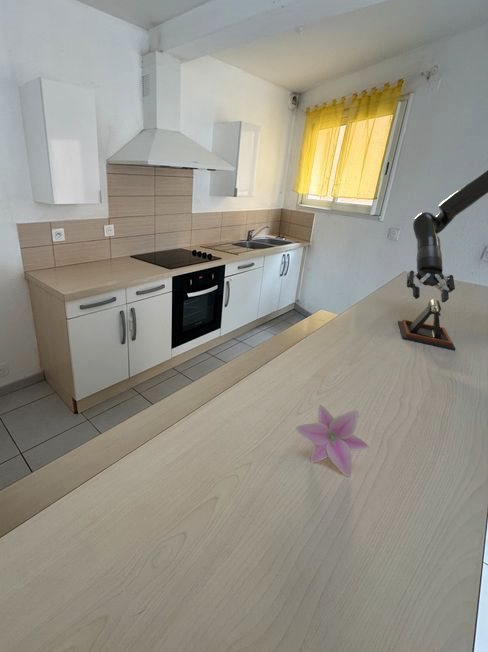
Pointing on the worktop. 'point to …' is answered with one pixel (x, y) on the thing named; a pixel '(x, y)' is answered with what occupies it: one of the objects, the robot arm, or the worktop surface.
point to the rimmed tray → (406, 334)
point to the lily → (334, 438)
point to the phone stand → (420, 320)
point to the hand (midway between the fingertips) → (430, 299)
